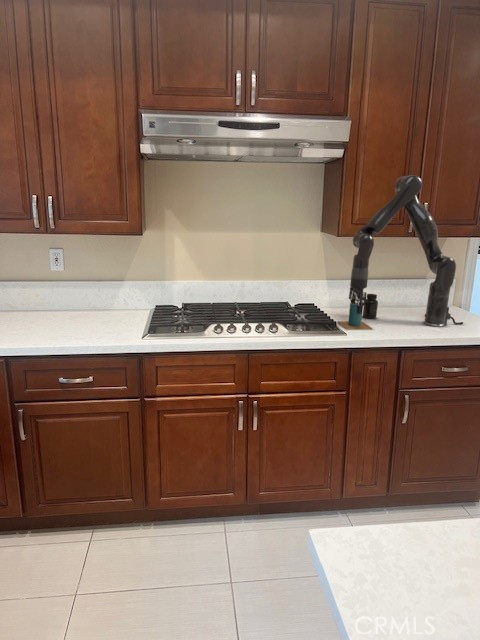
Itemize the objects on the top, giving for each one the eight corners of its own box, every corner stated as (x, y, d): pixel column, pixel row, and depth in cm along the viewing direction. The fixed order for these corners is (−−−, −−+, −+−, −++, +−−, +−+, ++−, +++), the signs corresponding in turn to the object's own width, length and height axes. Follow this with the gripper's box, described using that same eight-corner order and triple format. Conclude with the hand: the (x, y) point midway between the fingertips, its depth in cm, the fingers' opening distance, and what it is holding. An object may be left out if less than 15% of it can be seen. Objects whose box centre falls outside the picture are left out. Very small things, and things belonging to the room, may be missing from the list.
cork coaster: (361, 322, 226) (361, 321, 226) (371, 329, 214) (371, 327, 214) (337, 322, 224) (337, 321, 224) (346, 329, 213) (347, 328, 212)
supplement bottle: (376, 319, 232) (379, 296, 229) (362, 318, 233) (365, 295, 230) (375, 316, 238) (378, 293, 235) (362, 315, 240) (364, 292, 237)
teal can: (357, 322, 222) (360, 302, 220) (362, 326, 217) (364, 305, 214) (346, 322, 221) (348, 302, 219) (350, 326, 216) (353, 305, 213)
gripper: (373, 280, 207) (369, 315, 211) (361, 274, 221) (357, 307, 225) (357, 279, 206) (354, 315, 210) (345, 274, 220) (342, 307, 224)
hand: (355, 311), depth 217 cm, fingers open, 8 cm apart
